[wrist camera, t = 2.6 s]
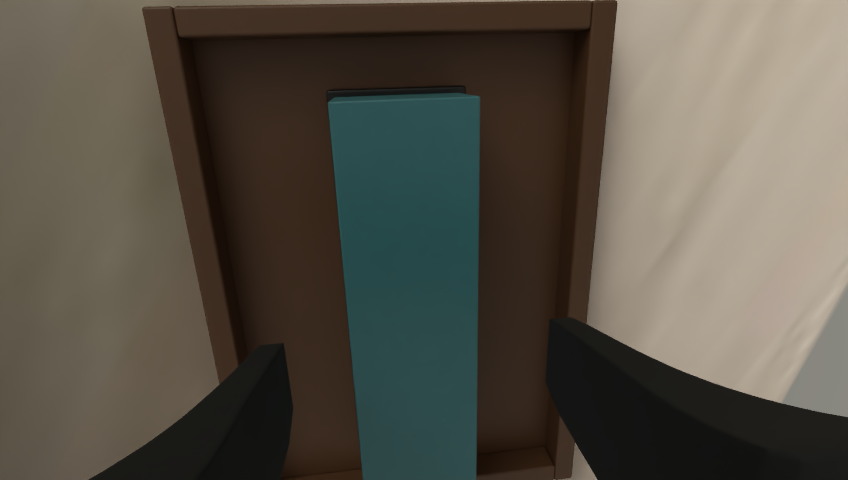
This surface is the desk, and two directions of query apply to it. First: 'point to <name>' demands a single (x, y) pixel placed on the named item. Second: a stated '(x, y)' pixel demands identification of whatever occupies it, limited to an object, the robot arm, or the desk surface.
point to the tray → (316, 200)
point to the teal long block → (410, 273)
